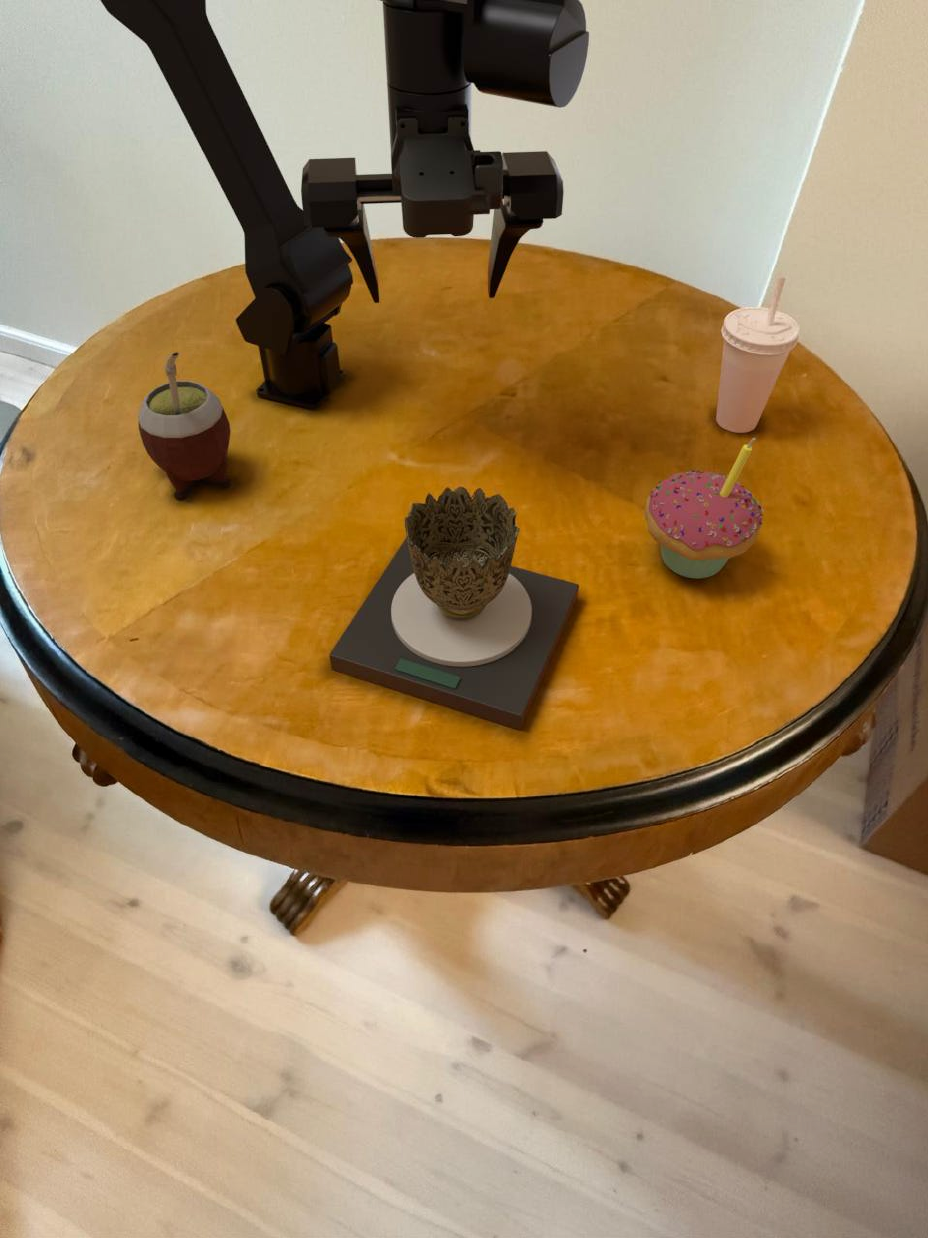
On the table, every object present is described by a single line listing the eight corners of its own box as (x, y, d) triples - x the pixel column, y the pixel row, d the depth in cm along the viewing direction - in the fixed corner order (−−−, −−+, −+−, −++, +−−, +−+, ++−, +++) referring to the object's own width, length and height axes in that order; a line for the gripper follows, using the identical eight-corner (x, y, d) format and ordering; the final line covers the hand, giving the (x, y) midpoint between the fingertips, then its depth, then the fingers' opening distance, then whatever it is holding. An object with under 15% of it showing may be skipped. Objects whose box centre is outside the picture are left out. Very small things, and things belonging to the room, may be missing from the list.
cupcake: (752, 536, 72) (793, 410, 63) (739, 609, 67) (781, 481, 58) (647, 513, 74) (672, 387, 65) (625, 582, 69) (650, 454, 60)
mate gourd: (186, 446, 80) (142, 286, 69) (263, 465, 78) (231, 304, 67) (136, 496, 75) (81, 333, 64) (217, 518, 73) (175, 354, 62)
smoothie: (772, 445, 80) (818, 298, 70) (700, 436, 81) (734, 290, 71) (770, 405, 85) (813, 261, 74) (701, 397, 85) (734, 254, 75)
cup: (407, 572, 66) (402, 487, 60) (506, 566, 66) (511, 481, 61) (412, 648, 61) (406, 563, 55) (519, 642, 61) (525, 557, 56)
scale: (331, 669, 63) (327, 649, 61) (407, 551, 71) (406, 530, 69) (520, 730, 59) (522, 710, 58) (577, 599, 67) (580, 578, 66)
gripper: (284, 127, 54) (315, 357, 66) (587, 118, 56) (565, 345, 67) (291, 69, 62) (318, 284, 73) (558, 62, 63) (543, 275, 75)
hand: (434, 298), depth 72 cm, fingers open, 9 cm apart
